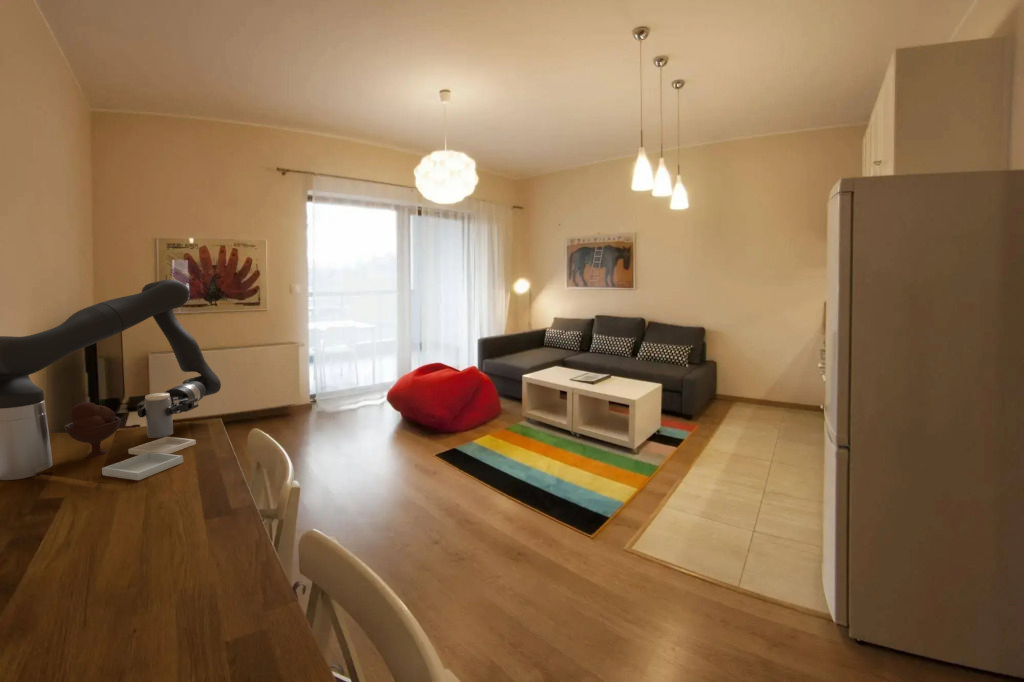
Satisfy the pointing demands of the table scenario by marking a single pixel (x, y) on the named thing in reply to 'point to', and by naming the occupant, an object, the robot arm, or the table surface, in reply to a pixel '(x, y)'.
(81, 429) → the ice cream bowl
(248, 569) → the table surface
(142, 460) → the glazed dish
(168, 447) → the tray
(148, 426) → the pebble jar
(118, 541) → the table surface
